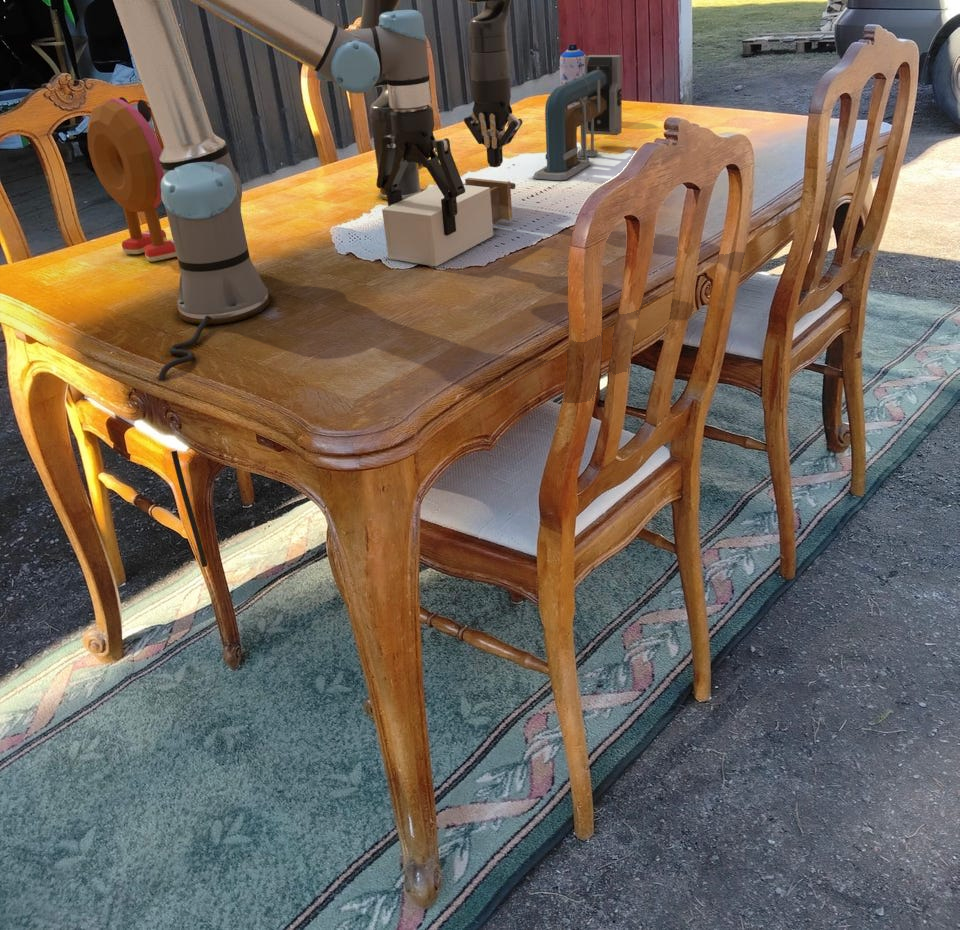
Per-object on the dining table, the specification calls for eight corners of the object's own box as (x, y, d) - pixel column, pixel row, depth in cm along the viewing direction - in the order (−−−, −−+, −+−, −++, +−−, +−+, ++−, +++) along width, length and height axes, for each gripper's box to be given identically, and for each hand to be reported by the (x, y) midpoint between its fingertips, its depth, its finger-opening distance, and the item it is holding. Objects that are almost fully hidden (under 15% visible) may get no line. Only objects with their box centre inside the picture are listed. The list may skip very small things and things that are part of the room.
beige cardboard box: (447, 229, 196) (442, 182, 191) (493, 235, 190) (490, 187, 185) (388, 258, 183) (381, 209, 178) (436, 266, 177) (430, 215, 172)
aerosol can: (559, 122, 275) (557, 47, 265) (562, 117, 282) (559, 42, 272) (587, 121, 274) (585, 45, 263) (589, 115, 280) (587, 41, 270)
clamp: (565, 180, 221) (562, 81, 210) (530, 178, 225) (526, 81, 214) (621, 144, 247) (621, 55, 236) (589, 143, 251) (588, 55, 240)
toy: (207, 253, 194) (172, 96, 178) (163, 268, 187) (122, 106, 172) (152, 236, 207) (115, 88, 191) (109, 250, 200) (67, 98, 185)
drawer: (486, 206, 204) (483, 170, 200) (527, 210, 199) (525, 174, 195) (419, 238, 188) (415, 201, 185) (462, 245, 183) (458, 206, 179)
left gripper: (478, 106, 166) (488, 230, 177) (373, 100, 178) (388, 217, 189) (453, 115, 161) (464, 243, 172) (346, 108, 173) (363, 228, 184)
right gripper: (529, 73, 185) (532, 164, 194) (473, 70, 192) (478, 159, 201) (508, 80, 180) (512, 174, 189) (451, 77, 187) (457, 167, 196)
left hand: (424, 229), depth 181 cm, fingers closed on beige cardboard box, 11 cm apart
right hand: (495, 166), depth 195 cm, fingers closed
